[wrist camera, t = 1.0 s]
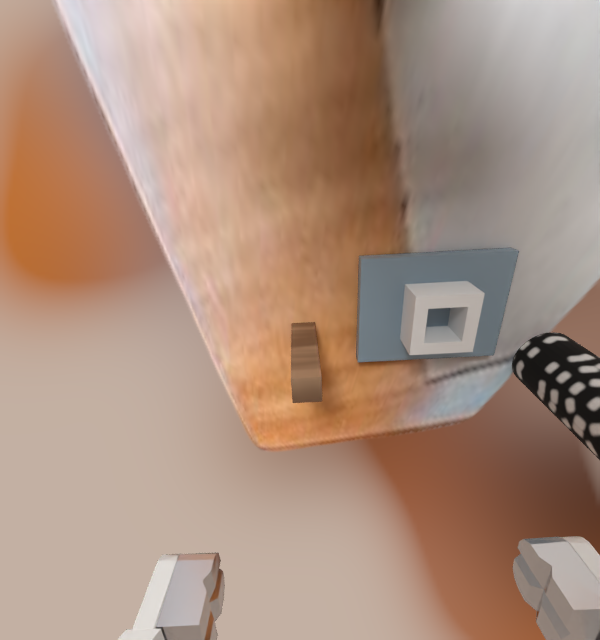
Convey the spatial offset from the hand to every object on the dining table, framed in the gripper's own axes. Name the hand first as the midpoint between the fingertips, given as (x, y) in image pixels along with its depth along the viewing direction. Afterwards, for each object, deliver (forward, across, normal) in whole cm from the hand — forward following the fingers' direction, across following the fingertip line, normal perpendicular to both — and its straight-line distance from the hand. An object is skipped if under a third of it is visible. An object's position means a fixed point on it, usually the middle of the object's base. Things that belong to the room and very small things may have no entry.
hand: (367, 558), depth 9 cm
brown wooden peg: (+34, +2, +9) cm, 35 cm away
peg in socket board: (+34, -14, +6) cm, 38 cm away
